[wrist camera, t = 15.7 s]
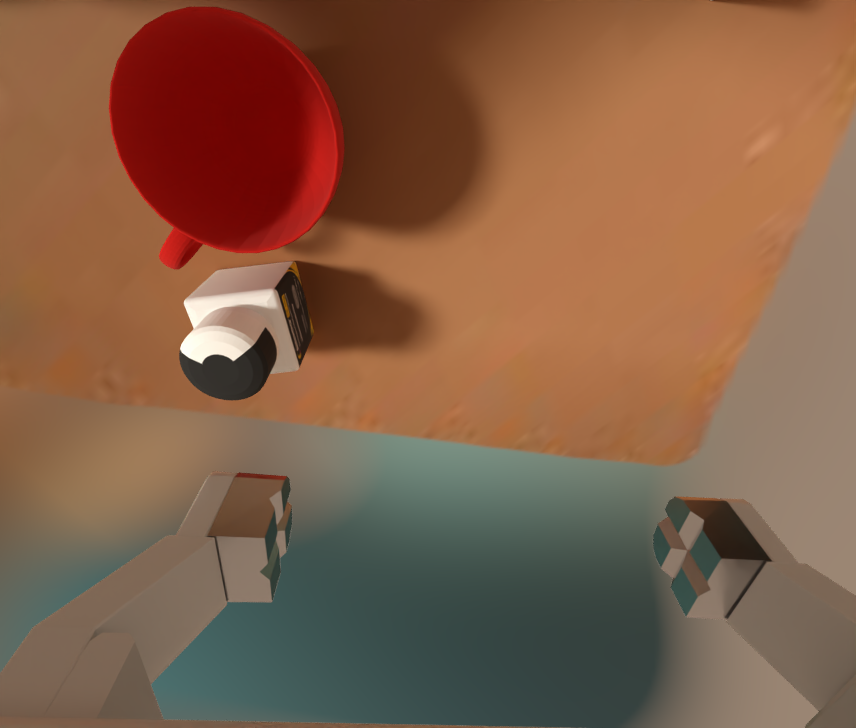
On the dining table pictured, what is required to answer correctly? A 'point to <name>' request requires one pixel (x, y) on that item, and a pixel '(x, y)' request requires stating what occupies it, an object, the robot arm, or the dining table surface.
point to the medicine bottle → (245, 329)
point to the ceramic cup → (225, 132)
